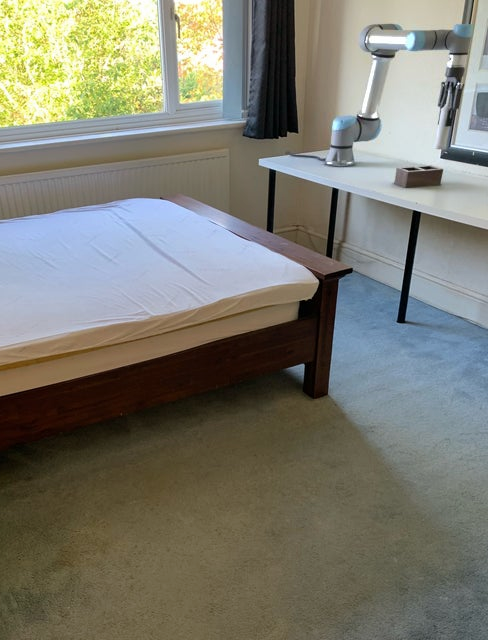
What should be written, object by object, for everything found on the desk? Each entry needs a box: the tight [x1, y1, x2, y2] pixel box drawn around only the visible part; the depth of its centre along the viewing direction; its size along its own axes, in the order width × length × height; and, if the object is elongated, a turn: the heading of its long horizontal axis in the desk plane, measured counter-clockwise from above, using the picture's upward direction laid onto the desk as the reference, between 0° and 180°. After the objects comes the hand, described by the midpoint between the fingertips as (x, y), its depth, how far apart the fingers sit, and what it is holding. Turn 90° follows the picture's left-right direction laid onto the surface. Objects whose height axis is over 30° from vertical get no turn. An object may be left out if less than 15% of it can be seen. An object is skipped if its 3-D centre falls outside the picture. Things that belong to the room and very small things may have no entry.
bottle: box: [433, 90, 451, 150], centre depth 264 cm, size 5×5×25 cm
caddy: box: [394, 164, 444, 189], centre depth 275 cm, size 10×18×7 cm, turn 104°
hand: (444, 125), depth 266 cm, fingers closed on bottle, 5 cm apart
